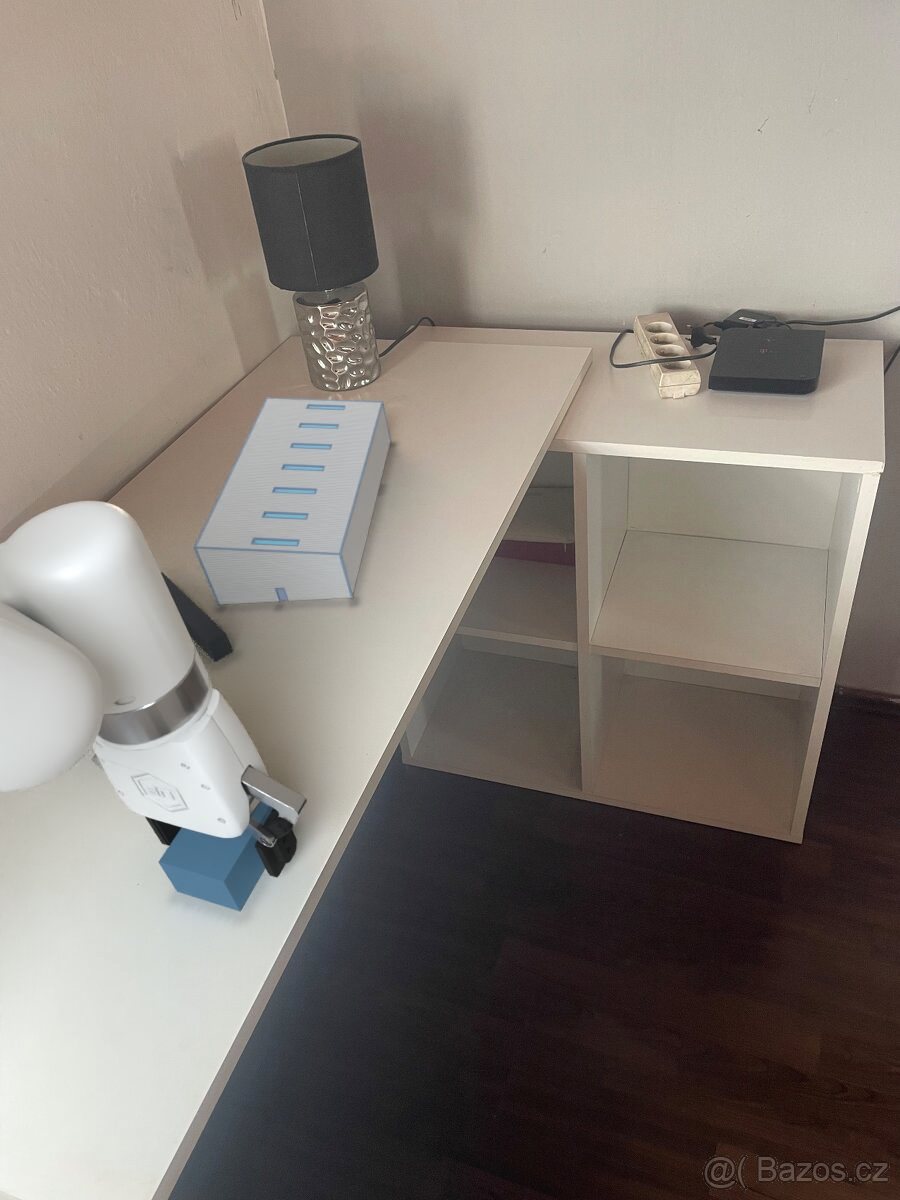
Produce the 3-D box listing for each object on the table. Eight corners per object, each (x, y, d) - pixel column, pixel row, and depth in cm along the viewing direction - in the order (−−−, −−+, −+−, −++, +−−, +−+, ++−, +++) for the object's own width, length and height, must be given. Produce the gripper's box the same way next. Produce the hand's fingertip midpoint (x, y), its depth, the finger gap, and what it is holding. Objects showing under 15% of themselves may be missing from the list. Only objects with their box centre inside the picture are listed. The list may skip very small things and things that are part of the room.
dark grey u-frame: (119, 721, 78) (108, 702, 77) (64, 648, 87) (53, 630, 86) (233, 651, 84) (225, 632, 82) (169, 589, 92) (161, 571, 91)
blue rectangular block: (176, 891, 64) (157, 862, 62) (230, 808, 69) (215, 778, 67) (240, 911, 62) (223, 882, 60) (290, 824, 67) (277, 793, 65)
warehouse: (353, 598, 87) (336, 538, 82) (217, 605, 89) (193, 547, 84) (391, 441, 109) (380, 387, 104) (282, 450, 112) (266, 397, 107)
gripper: (-2, 707, 54) (108, 858, 65) (230, 764, 48) (307, 920, 59) (75, 626, 59) (165, 780, 70) (294, 668, 53) (354, 829, 64)
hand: (229, 843), depth 65 cm, fingers open, 9 cm apart
